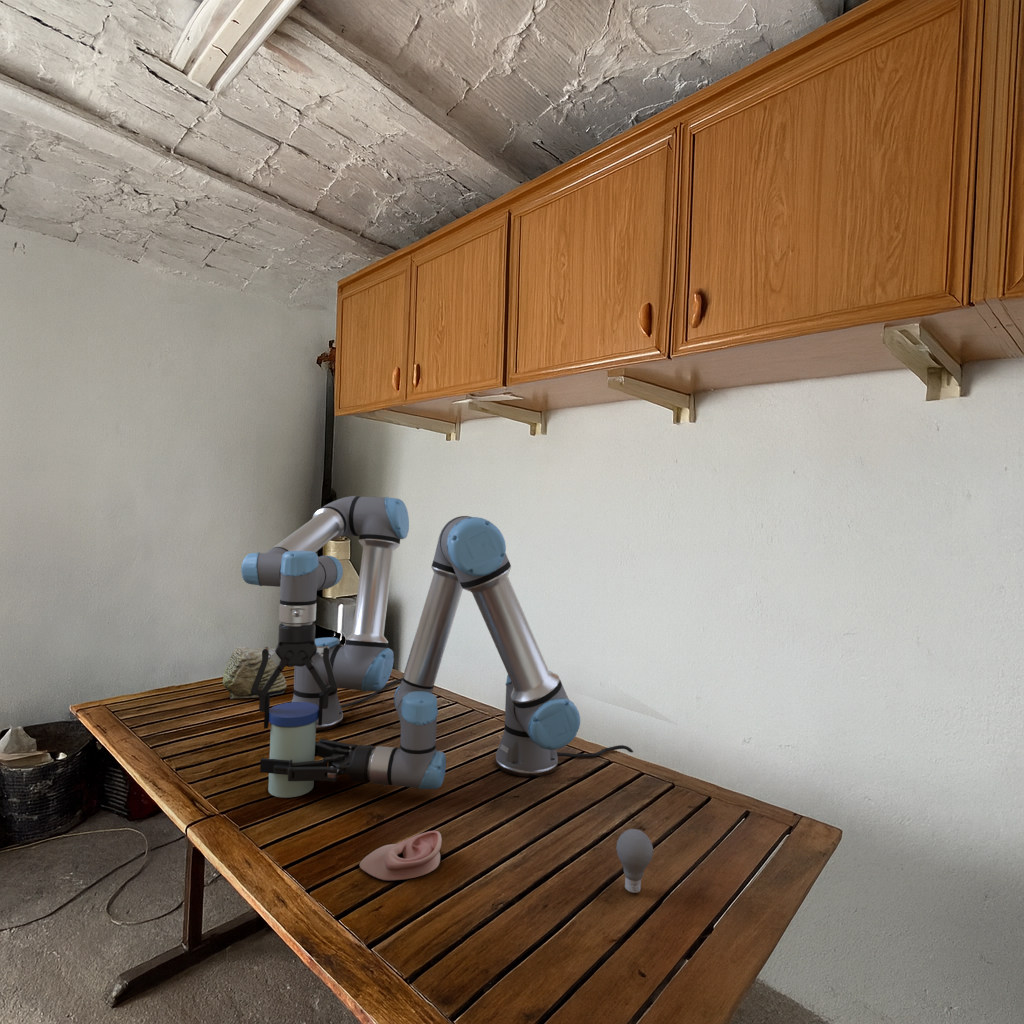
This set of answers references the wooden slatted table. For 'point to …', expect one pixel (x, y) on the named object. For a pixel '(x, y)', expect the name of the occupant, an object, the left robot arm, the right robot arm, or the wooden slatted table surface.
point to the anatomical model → (405, 858)
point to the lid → (293, 714)
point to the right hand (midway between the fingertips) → (272, 755)
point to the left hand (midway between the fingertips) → (293, 724)
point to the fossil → (249, 673)
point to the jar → (291, 757)
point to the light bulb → (634, 857)
